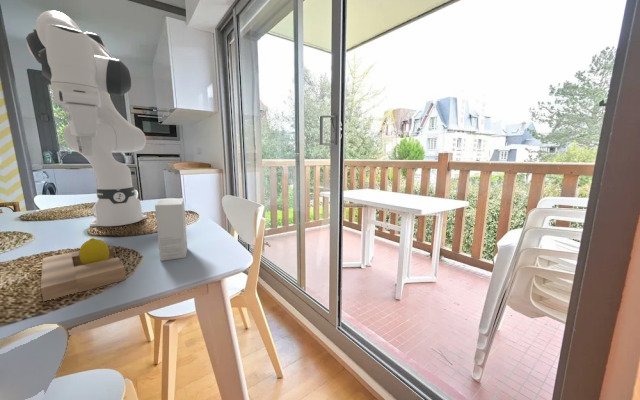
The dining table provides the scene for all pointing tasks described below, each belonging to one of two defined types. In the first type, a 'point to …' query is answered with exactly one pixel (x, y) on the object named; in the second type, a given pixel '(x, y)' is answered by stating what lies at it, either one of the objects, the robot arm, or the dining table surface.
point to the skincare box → (171, 228)
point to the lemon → (93, 251)
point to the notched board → (78, 274)
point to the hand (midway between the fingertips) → (85, 154)
